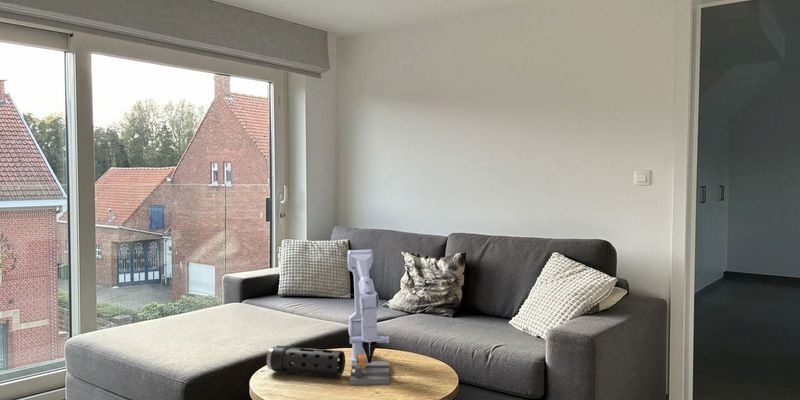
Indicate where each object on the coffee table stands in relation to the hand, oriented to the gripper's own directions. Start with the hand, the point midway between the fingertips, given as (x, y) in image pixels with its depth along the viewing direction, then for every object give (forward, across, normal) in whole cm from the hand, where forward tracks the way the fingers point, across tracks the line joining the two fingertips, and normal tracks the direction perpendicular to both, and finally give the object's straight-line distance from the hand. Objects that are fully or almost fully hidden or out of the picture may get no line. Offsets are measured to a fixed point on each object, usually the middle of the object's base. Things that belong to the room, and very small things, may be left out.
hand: (369, 362), depth 225 cm
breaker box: (+5, 0, 0) cm, 5 cm away
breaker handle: (+3, -3, 0) cm, 4 cm away
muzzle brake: (+5, -24, +1) cm, 24 cm away
